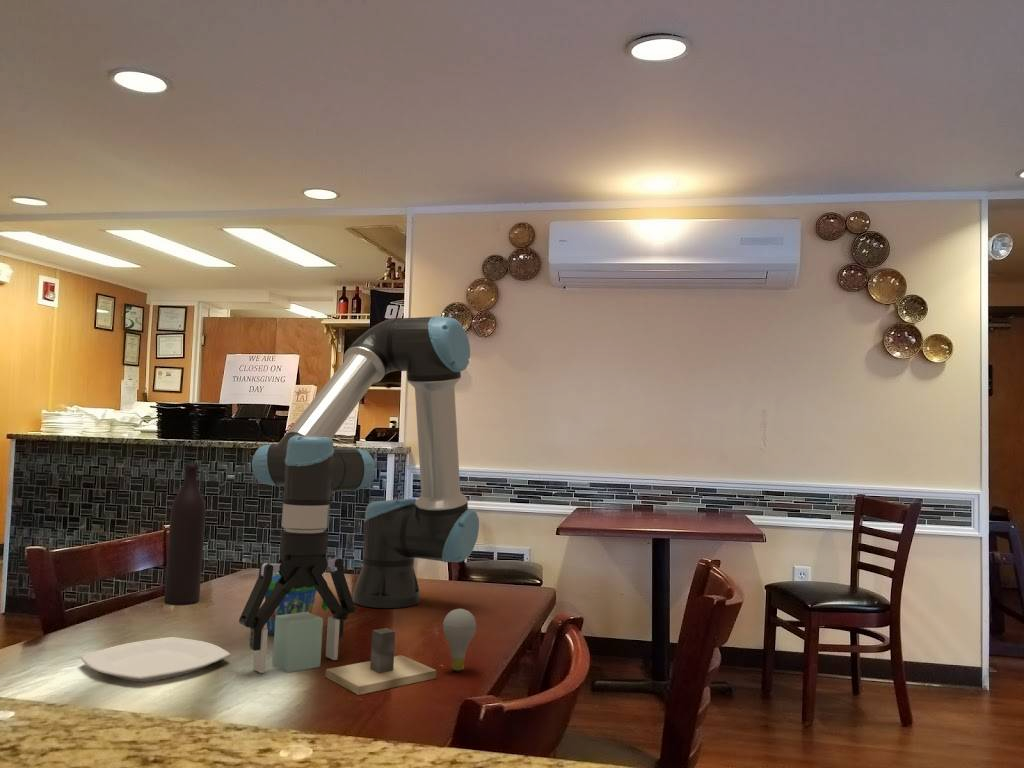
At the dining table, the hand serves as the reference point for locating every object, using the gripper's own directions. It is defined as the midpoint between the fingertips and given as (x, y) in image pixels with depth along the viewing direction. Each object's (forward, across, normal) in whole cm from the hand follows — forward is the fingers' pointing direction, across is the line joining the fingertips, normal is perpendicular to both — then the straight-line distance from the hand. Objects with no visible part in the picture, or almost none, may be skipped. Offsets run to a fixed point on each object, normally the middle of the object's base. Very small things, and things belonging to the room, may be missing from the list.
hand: (296, 664), depth 124 cm
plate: (+1, +18, -12) cm, 22 cm away
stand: (0, -8, +13) cm, 15 cm away
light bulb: (0, -20, +17) cm, 26 cm away
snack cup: (0, -8, -20) cm, 22 cm away
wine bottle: (0, 0, -55) cm, 55 cm away
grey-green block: (0, 0, 0) cm, 0 cm away
